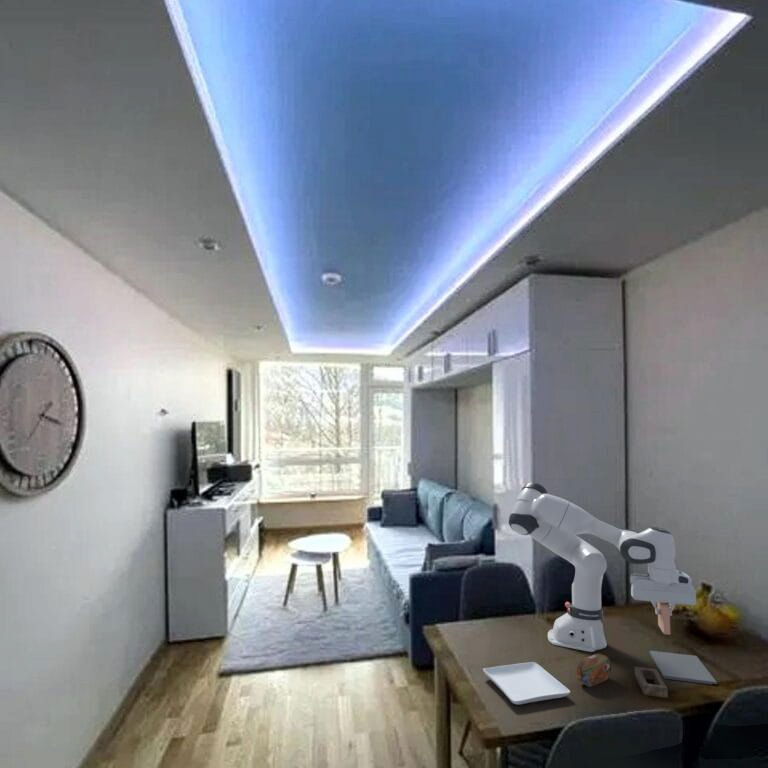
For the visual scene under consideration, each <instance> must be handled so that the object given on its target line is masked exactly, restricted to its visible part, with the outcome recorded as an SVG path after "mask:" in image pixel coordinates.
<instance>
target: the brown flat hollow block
mask: <svg viewBox="0 0 768 768" xmlns="http://www.w3.org/2000/svg"><path fill="white" fill-rule="evenodd" d="M634 677H635V679H636V681H637V682H638V685H639V688H640V689H641V692H642V694H643V696H648V697H649V696H651V697H658V698H665V699H668V697H669V696H668V695H669V694H668V687H667V685H666V683H665V682H664V680H663V678H662V676H661V673H659V671H658V670H657V669H655V668H650V667H640V666H634ZM647 680H651V681H654V684H653V683H648V682H647Z"/></svg>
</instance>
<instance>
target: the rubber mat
mask: <svg viewBox="0 0 768 768" xmlns="http://www.w3.org/2000/svg"><path fill="white" fill-rule="evenodd" d="M649 655H650V656H651V658H652V660H653V661H654V663H655V665H656V666H657V668H658V670H659V672H660V674H661V675H662V677H663V678H664V679H665V680H672V681H673V680H674V681H682V682H687V683H695V684H696V683H697V684H705V685H712V684H716V685H715V686H717V685H718V683H717V681H716V679H715V678H714V677H713V675H712V674H711V673H710V671H709V670H708V669H707V668H706V666H705V665H704V664H703V662H702V661H701V660H700V659H699V657H698V655H693V654H683V653H674V652H665V651H656V650H649Z"/></svg>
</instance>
